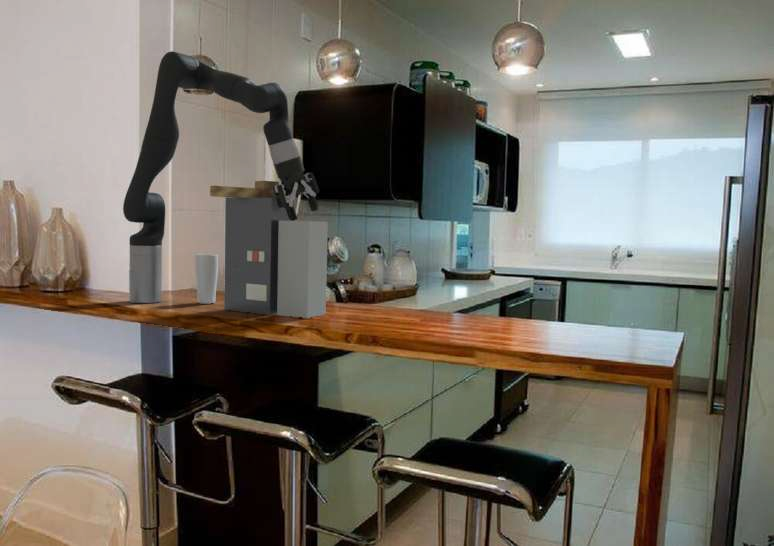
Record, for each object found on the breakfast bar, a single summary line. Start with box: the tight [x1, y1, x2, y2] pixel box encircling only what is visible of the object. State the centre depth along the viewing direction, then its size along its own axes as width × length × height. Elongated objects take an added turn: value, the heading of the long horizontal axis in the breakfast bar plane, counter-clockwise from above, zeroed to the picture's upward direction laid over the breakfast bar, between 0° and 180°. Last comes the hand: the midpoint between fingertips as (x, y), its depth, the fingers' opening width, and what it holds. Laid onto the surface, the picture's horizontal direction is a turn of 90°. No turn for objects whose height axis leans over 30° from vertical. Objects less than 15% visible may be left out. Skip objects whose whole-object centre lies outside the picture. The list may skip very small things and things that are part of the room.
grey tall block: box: [276, 220, 329, 319], centre depth 179 cm, size 10×9×26 cm
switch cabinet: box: [223, 197, 295, 316], centre depth 184 cm, size 16×11×32 cm
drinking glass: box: [194, 253, 219, 305], centre depth 198 cm, size 7×7×15 cm
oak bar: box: [209, 180, 280, 198], centre depth 180 cm, size 19×5×5 cm, turn 129°
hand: (304, 215), depth 179 cm, fingers open, 8 cm apart
